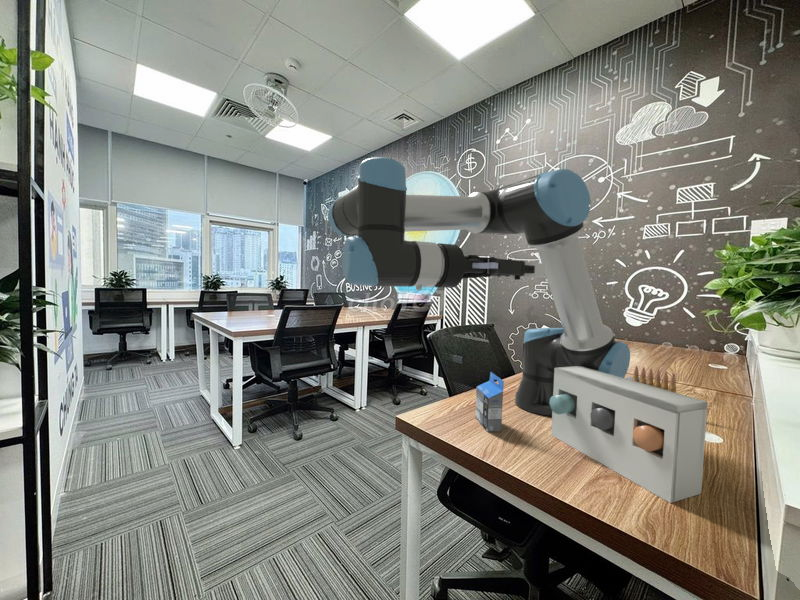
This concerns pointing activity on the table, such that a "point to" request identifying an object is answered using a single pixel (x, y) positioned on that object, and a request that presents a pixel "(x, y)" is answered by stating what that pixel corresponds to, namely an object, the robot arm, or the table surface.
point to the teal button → (562, 404)
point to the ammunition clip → (657, 379)
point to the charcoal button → (603, 418)
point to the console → (634, 406)
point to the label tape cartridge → (490, 404)
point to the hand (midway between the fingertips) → (541, 270)
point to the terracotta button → (649, 437)
